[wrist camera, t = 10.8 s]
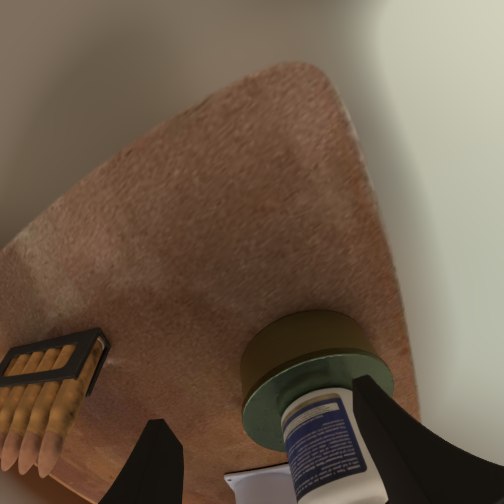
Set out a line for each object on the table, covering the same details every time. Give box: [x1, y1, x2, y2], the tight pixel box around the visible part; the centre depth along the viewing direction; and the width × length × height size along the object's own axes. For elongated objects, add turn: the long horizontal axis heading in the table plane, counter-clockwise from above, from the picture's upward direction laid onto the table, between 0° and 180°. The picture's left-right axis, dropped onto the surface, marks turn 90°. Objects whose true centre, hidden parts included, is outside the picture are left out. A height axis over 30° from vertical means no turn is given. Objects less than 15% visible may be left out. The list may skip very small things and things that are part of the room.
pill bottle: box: [281, 388, 388, 504], centre depth 15 cm, size 5×5×10 cm
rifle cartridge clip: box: [0, 328, 111, 478], centre depth 16 cm, size 11×2×12 cm, turn 106°
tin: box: [240, 310, 394, 452], centre depth 21 cm, size 10×10×5 cm
